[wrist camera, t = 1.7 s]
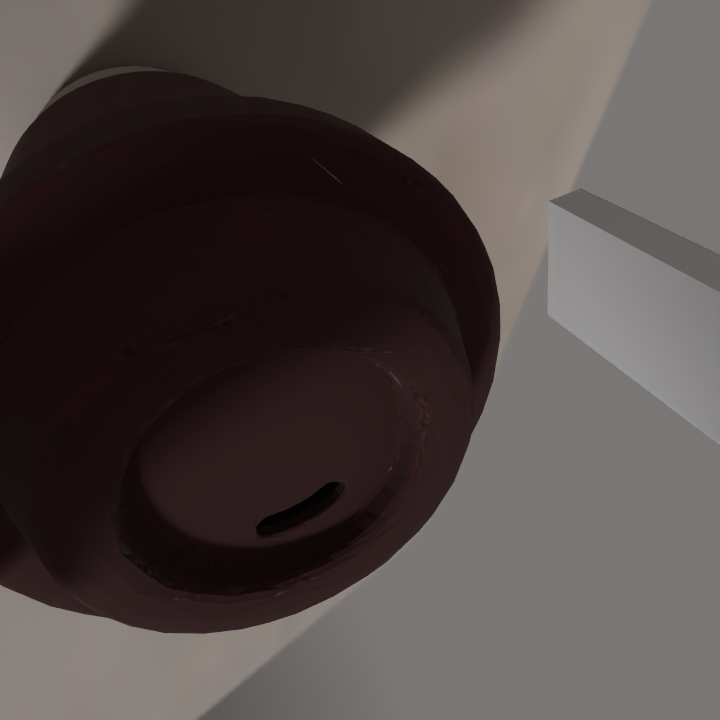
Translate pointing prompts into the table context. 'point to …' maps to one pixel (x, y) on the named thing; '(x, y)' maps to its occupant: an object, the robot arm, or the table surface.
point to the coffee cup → (225, 353)
